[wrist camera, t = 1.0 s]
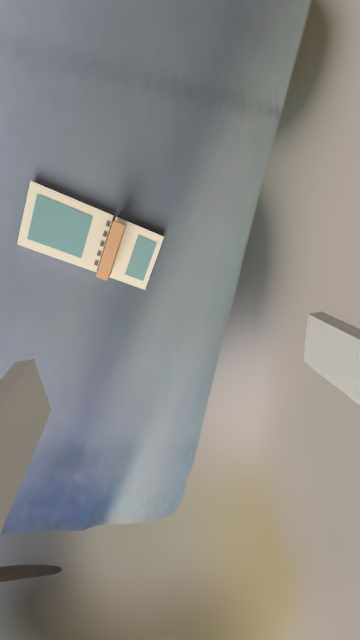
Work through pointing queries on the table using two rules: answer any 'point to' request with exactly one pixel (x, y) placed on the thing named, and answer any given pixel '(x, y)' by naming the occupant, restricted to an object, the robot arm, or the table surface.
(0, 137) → the table surface
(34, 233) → the cream tablet with screen
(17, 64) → the table surface
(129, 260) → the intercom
